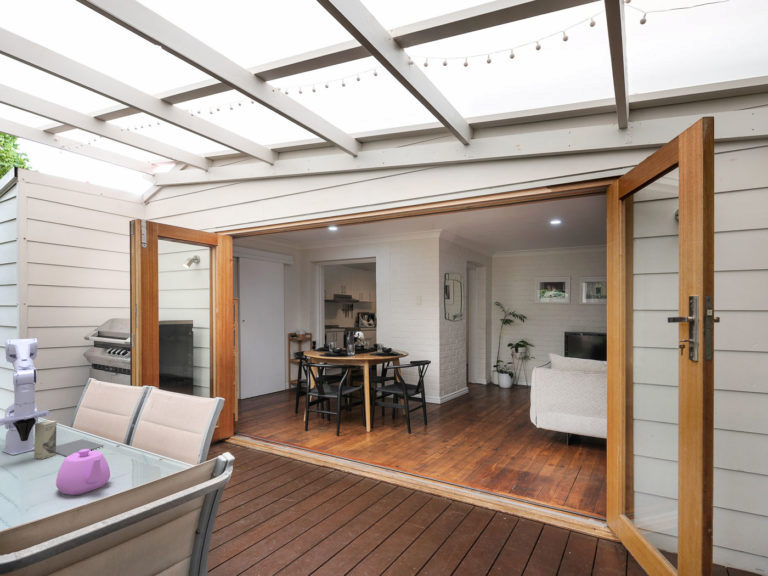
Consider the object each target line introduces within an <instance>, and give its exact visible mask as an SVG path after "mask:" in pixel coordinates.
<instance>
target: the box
mask: <svg viewBox="0 0 768 576" xmlns="http://www.w3.org/2000/svg"><path fill="white" fill-rule="evenodd" d="M57 422H58V421H57V420H50V419H49V420H45V421H41V422H38V423H37V424H35V425H34V443H33V446H34V450H33V453H34V454H33V458H34V459H36V458H38V460H44V459H47V458H50V457H53V456H57V454H56V446H57V424H58V423H57Z"/></svg>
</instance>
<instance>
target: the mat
mask: <svg viewBox="0 0 768 576" xmlns="http://www.w3.org/2000/svg"><path fill="white" fill-rule="evenodd" d="M103 446H105V445H103V444H101V443H96V442H93V441H90V440H87V439H83V438H81V439H78V440H74V441H70V442H65V443H63V444H58V445H56V455H59V456H62V457H65V458H66V457H67V456H70V455H71V454H73V453H79V452H78V451H80V450H82V449H90V450H92V451H95V450H98V449H97V448H99V449H101V448H100V447H102V448H104V447H103ZM94 449H95V450H94Z"/></svg>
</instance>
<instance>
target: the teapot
mask: <svg viewBox="0 0 768 576" xmlns="http://www.w3.org/2000/svg"><path fill="white" fill-rule="evenodd" d="M78 452H79V453H73V454H71V455H70V456H67V457H65V458H64V460H63V461H62V463H61V466H60V468H59V470H58V473H57V476H56V481H55V482H56V483H55V487H56V488H57V489H58V490H59V492H61V493H62V494H64V495H71V496H79V495H81V494H85V493H87V492H91V491H94V490H96V489H99V488H102V487H104V486H106V485H107V483H108V481H109V480H110V478H111V470H110V466H109V463H108V461H107V459H106V457H105V456H104V454H103V453H102V452H100V451H98V450H92V451H90V449H82V450H80V451H78Z"/></svg>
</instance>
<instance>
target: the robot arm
mask: <svg viewBox="0 0 768 576" xmlns="http://www.w3.org/2000/svg"><path fill="white" fill-rule="evenodd" d="M38 342H39V341H38V338H36V337H34V338H17V339H13V338H12V339H9V338H8V339H6V340H5V349H4V350H5V359H6V362H8V363H11V364H12V366H13V370H14V371H13V373H12V374H13V375H12V384H13V393H14V397H13V398H14V402H13V403H12V404H11V405H9V406H8V407H7V408H6V409H5V411H4V412H5V414H4V418H0V427H1V426H4V429H6V430H7V432H6V433H5V449H2V450H1V451H2V452H3V453H6V454H9V455H11V456H15V455H19V454H24V453H27V452H28V453H29V452H31V451H34V428H35V424H37V423H39V418H42V417H43V418H44V417H49V416H50V410H47V409H46V410H40V411H39V410H38V405H37V404H36V384H37V381H38V371H37V369H36V367H35V363H34V361H35V360H36V358H37V354H38V348H39V345H38V344H39V343H38Z"/></svg>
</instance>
